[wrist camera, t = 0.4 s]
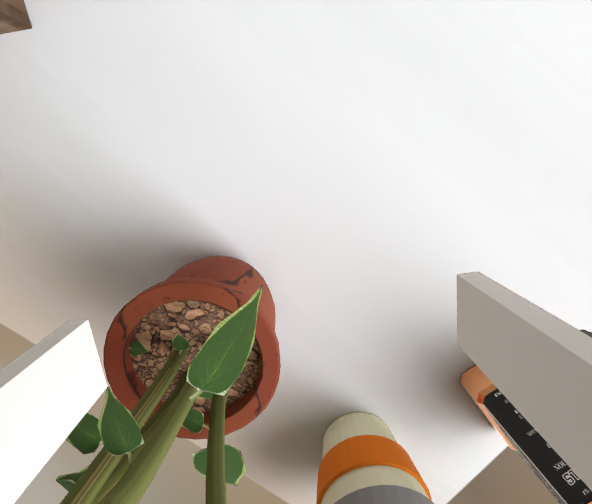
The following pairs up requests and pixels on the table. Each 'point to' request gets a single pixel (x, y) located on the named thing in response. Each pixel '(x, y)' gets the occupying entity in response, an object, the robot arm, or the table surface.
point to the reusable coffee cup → (367, 465)
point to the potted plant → (180, 381)
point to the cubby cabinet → (13, 16)
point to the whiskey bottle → (525, 440)
